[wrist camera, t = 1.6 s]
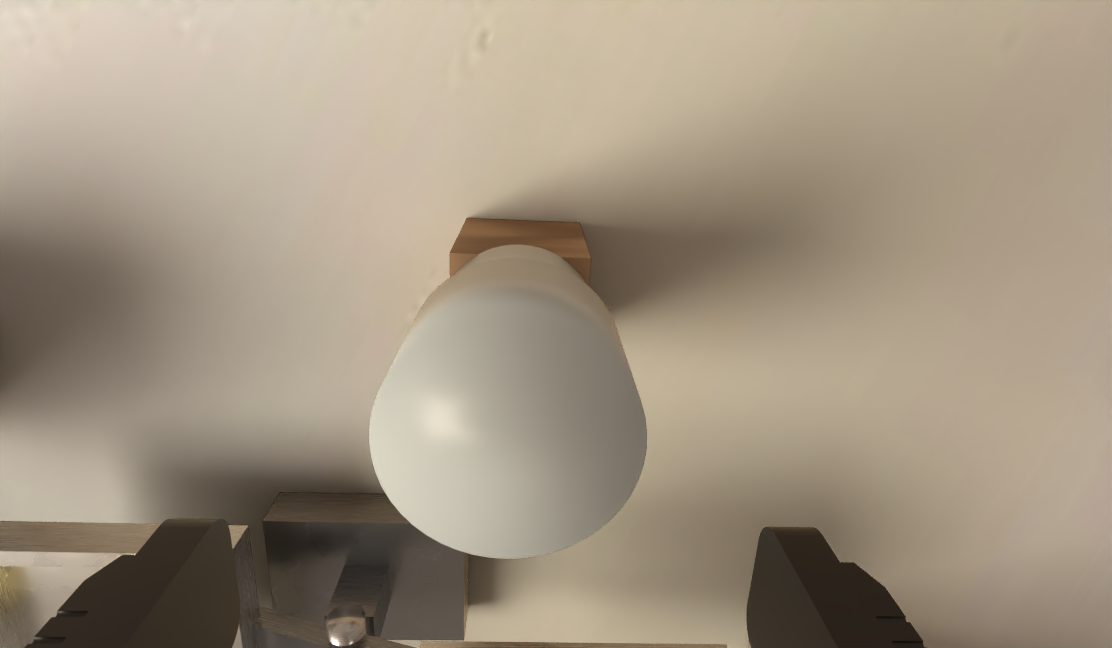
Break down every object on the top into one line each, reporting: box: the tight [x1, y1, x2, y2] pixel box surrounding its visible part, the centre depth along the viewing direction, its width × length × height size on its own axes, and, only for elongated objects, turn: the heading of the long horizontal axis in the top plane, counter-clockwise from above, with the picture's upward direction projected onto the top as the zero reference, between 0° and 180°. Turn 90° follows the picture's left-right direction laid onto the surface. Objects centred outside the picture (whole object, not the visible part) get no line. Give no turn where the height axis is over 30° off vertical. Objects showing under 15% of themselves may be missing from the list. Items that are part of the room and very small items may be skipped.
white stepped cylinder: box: [369, 245, 647, 559], centre depth 17 cm, size 6×6×8 cm
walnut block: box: [450, 218, 591, 286], centre depth 23 cm, size 4×4×6 cm
